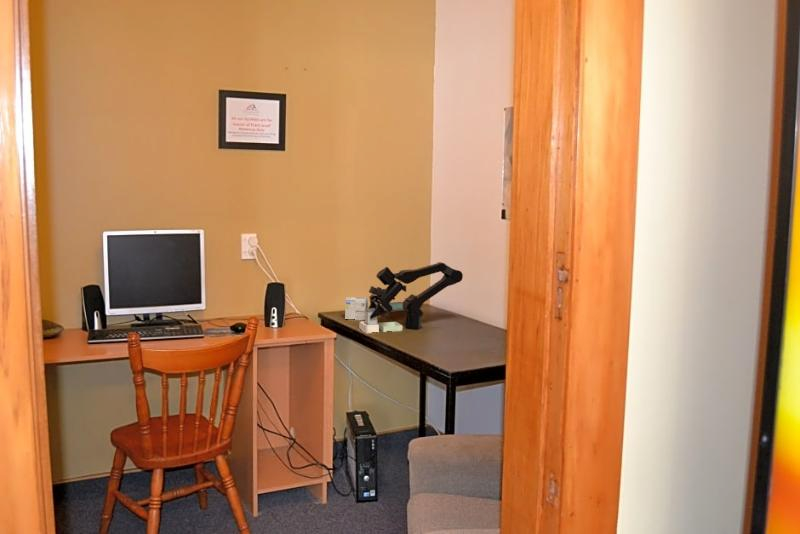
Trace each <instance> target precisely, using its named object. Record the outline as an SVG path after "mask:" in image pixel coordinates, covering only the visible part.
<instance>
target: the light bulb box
mask: <svg viewBox="0 0 800 534" xmlns="http://www.w3.org/2000/svg"><path fill="white" fill-rule="evenodd" d="M344 301H345V302H344V320H345V319H355V320H354V321H364V320H365V309H367V308H369V305H368V304H369V303H368V302H369V297H361V296H360V297H352V296H347V297H346V298H345V299H344Z"/></svg>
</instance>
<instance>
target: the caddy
mask: <svg viewBox="0 0 800 534" xmlns="http://www.w3.org/2000/svg"><path fill="white" fill-rule="evenodd" d="M374 310H375V308H369V307H368V308H367V309H365V324H366V325H377V323H378V316H377V317H374V318H372V319H371V318H370V316H371V314H372V313H373V311H374Z"/></svg>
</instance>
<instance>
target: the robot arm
mask: <svg viewBox="0 0 800 534" xmlns="http://www.w3.org/2000/svg"><path fill="white" fill-rule="evenodd" d="M440 272H441V274H443V276H442V277H441V278H440V279H439V280H438V281H436V282H434V283H433V284H432V285H431V286H429V287H427V288H426V289H425V290H423V291H422V292H421V293H419V294H418V295H415V294H413V293H412V294H409V296H408V297H406V298H404V300H403V301H402V302H403V304H402V307H403V309H404V310H405V311H406V314H408V315H407V318H406V319H405V327H404V328H405V329H410V330H420V329H422V328H423V325H422V316H423V314H424V311H422V309H421V307H423V304H424V303H425V302H427V301H429V300H430V299H431V298H432V297H434V296H435V295H437V294H438V293H439V292H442V291H443V290H444V289H445V288H447V287H450V286H453V285H455V284H458V283H460V282H462V280H463V277H464V276H463V273H462V271H461V270H458V269H455V268H452V267H451V266H449V265H447V264H446V263H444V262H440V261H438V262H436V263H433V264H430V265H426V266H423V267H420V268H416V269H403V270H402V269H401V270H400V271H399V272H396V273H394V272H392V271H391V269H390V268H389V267H388V266H386V267H384V268H382V269H380V270H379V271H378V272H377V274H376V275H375V276H376V278H377V279H378V280H379V281H380V282H381V283H382V284H383V285H384V286H386V288H382V287H380V286H377V287H374V286H373V285H371V286H370V287H369V290H368V293H370V296H368V299H369V305H368V308H375V310H374V311H373V313H372V314H371V316H370V318H371V319H372V318H374V317H377V318H378V316H379V315H381V314H384V313H387V311H388V312H389V313H390V312H391V311H392V306H391V305H390V304H389V303H392V301H393V300H394V301H395V300H396V297H397V296H398V295H399V293H400V292H401V291H402V292H405V293H406V292H407V285H409V284H411V283H413V282H414V281H416V280H418V279H419V278H423V277H427V276H429V275H433V274H436V273H440ZM403 284H404V285H403ZM405 284H407V285H405ZM379 317H380V316H379Z"/></svg>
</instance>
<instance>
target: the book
mask: <svg viewBox="0 0 800 534" xmlns="http://www.w3.org/2000/svg"><path fill="white" fill-rule="evenodd" d="M389 304H390V305H391V306H392V311H391V312H390V313H389V312H388V311H387V313H384V314H381V315H380V316H379V317H381V316H382V318H384V317H385V319H386V318H387V320H388V319H389V321H391V320H390V319H394V320H405V319H404V318H407V315H408V314H406V311H405V310H404V309H403V307H402V304H403V301H399V302H395V301H394V302H390V303H389Z"/></svg>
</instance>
